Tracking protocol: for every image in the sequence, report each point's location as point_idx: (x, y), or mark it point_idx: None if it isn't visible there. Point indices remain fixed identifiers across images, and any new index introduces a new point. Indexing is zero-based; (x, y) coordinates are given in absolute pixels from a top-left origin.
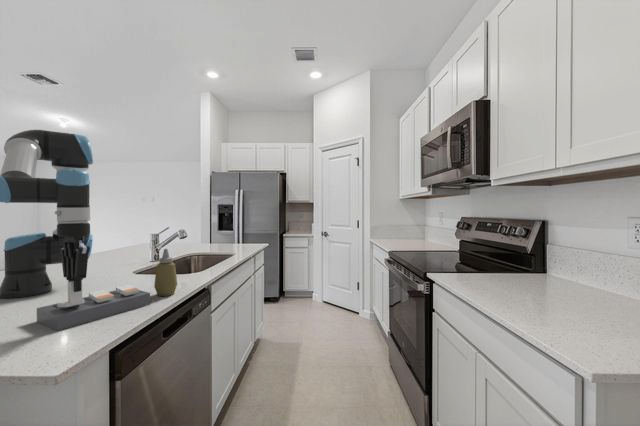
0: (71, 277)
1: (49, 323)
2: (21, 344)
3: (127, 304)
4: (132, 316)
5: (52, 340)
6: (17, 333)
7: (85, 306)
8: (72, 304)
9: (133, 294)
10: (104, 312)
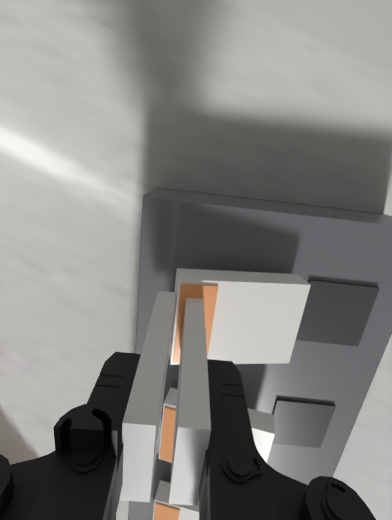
0: (102, 483)
1: (244, 200)
2: (125, 23)
3: None
4: (59, 387)
5: (52, 117)
6: (304, 90)
7: None
8: (175, 299)
9: None
10: None
